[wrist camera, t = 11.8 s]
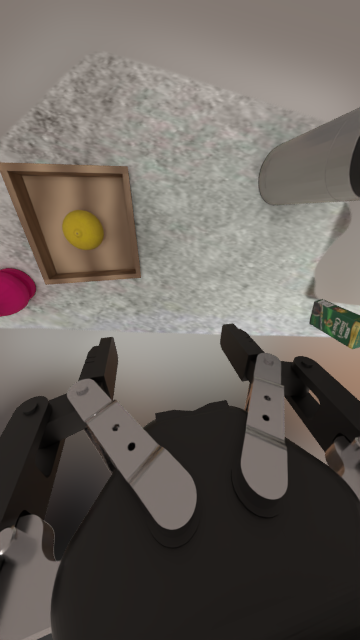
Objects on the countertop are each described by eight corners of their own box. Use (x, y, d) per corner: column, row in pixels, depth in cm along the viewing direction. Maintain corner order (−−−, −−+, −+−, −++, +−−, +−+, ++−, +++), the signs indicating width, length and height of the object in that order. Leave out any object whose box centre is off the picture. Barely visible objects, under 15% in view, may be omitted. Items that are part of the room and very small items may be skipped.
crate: (128, 172, 29) (127, 166, 26) (140, 271, 38) (140, 277, 34) (16, 169, 27) (-4, 162, 23) (55, 276, 35) (45, 284, 31)
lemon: (64, 217, 30) (43, 219, 23) (95, 204, 30) (83, 202, 23) (84, 250, 33) (71, 260, 26) (112, 238, 33) (107, 245, 26)
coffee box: (313, 300, 52) (362, 324, 41) (322, 297, 52) (373, 320, 41) (308, 323, 56) (351, 350, 45) (316, 321, 56) (361, 347, 45)
